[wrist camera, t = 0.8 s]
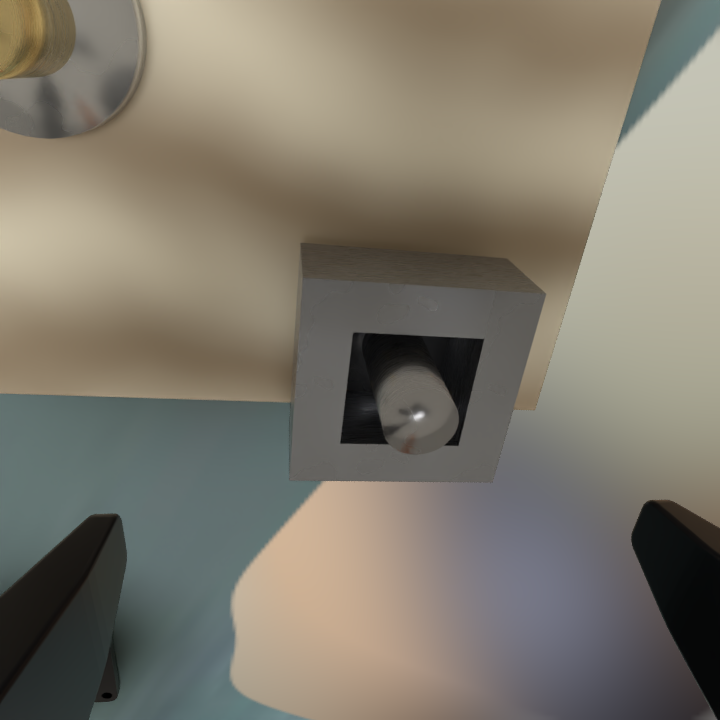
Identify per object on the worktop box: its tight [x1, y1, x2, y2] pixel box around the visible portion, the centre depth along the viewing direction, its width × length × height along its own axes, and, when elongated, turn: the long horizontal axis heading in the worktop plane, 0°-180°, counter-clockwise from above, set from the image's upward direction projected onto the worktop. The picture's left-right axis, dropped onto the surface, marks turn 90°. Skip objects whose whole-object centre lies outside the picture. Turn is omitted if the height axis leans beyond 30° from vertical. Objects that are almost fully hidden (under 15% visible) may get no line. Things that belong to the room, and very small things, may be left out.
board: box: [0, 0, 661, 410], centre depth 16 cm, size 15×27×1 cm, turn 84°
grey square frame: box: [289, 243, 546, 482], centre depth 17 cm, size 6×6×3 cm
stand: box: [347, 332, 459, 455], centre depth 17 cm, size 4×4×6 cm
